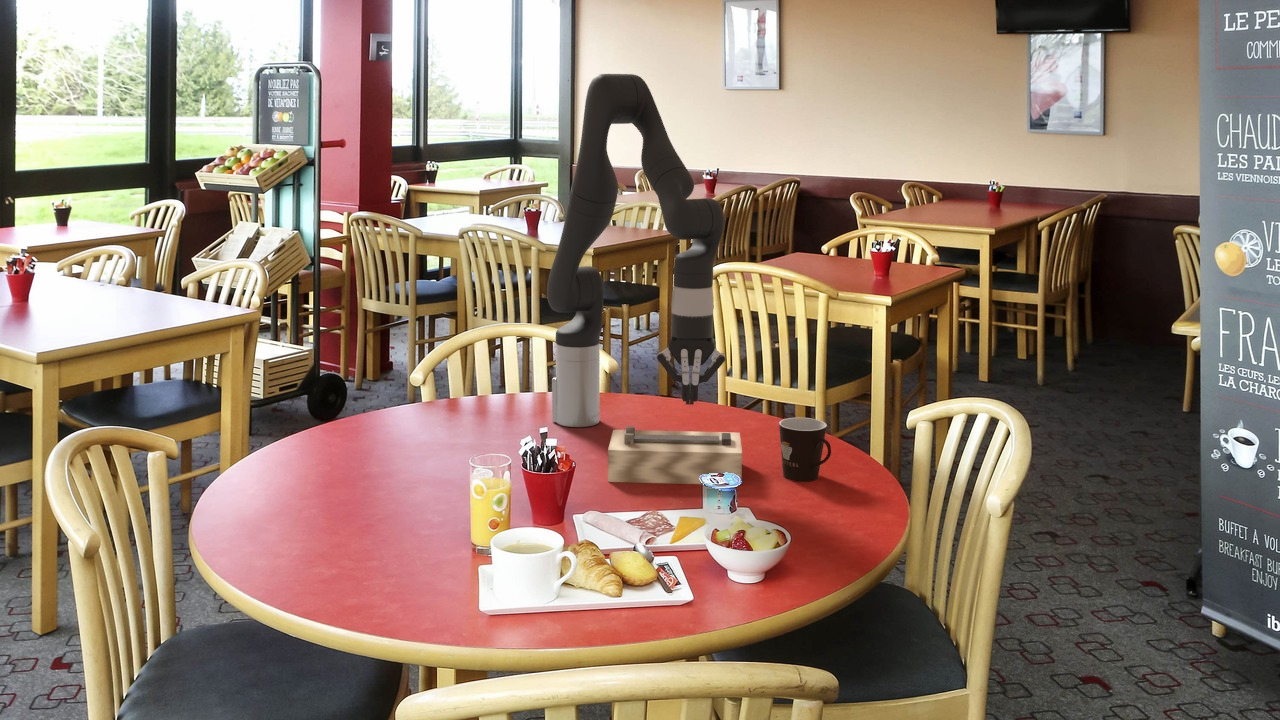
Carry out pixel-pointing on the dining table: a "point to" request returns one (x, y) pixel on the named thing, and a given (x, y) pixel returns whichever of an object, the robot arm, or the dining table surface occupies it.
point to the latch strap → (676, 438)
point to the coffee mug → (802, 448)
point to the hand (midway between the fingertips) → (689, 403)
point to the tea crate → (671, 457)
